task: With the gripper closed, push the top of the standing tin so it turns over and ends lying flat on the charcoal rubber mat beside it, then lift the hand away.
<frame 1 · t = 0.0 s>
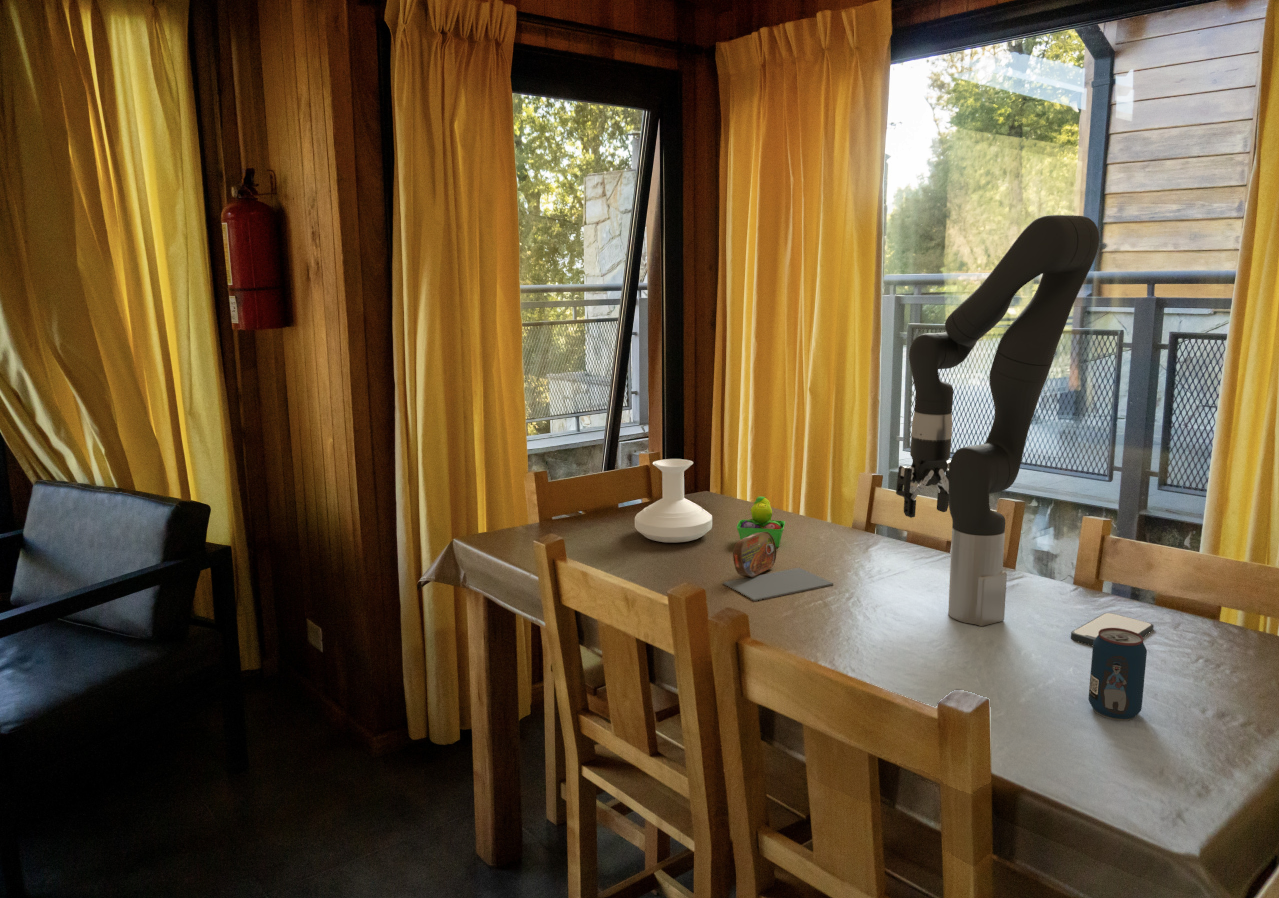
hand: (926, 513, 175), 17 cm above the table, tool pointing down, fingers open, 8 cm apart
soda can: (1113, 712, 130), on the table
white vase: (673, 537, 224), on the table
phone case: (1112, 636, 158), on the table
fruit basket: (761, 544, 216), on the table
mat: (777, 584, 187), on the table
tin: (756, 573, 194), on the table, touching mat
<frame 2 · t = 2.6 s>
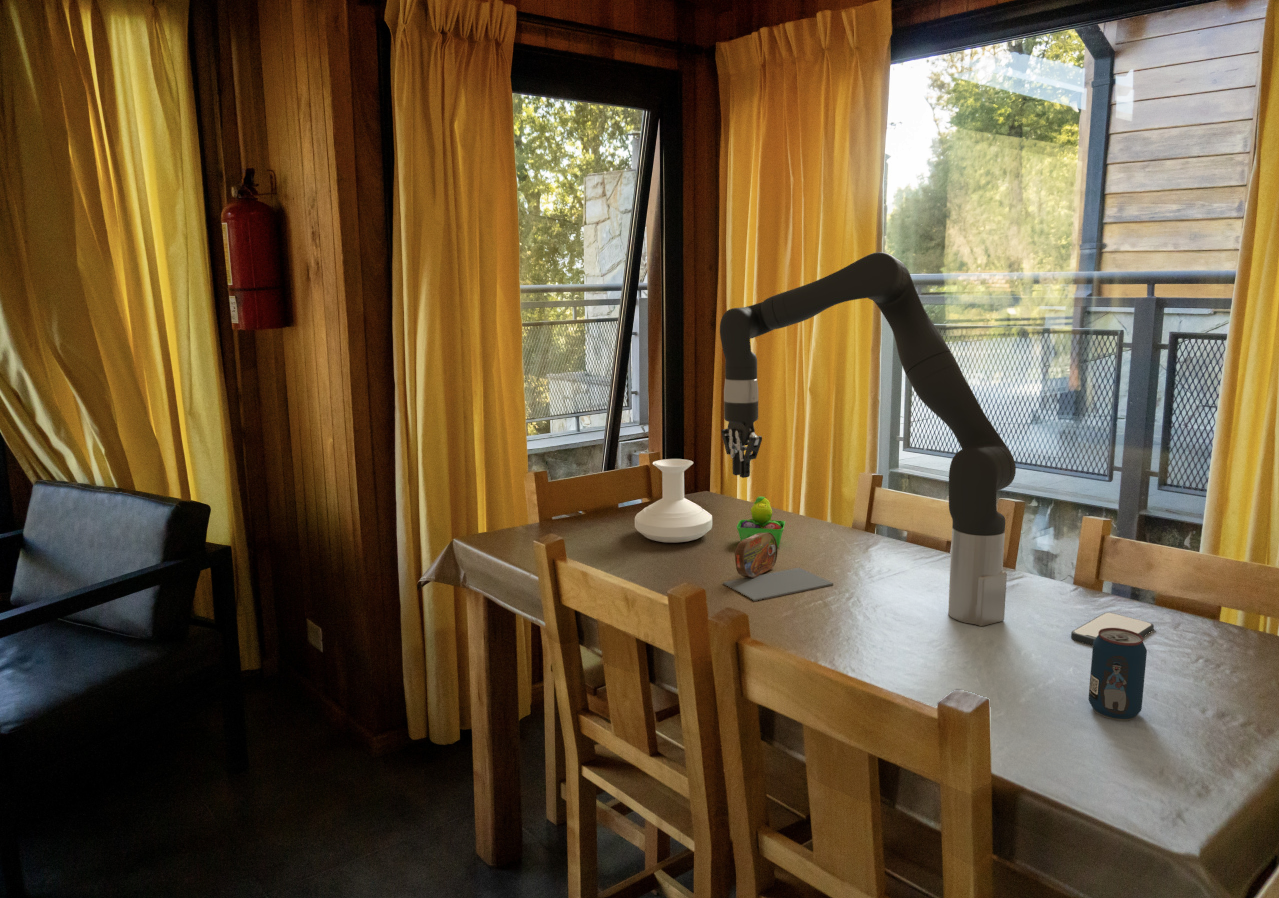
hand: (741, 475, 195), 21 cm above the table, tool pointing down, fingers closed
nothing on the table moved.
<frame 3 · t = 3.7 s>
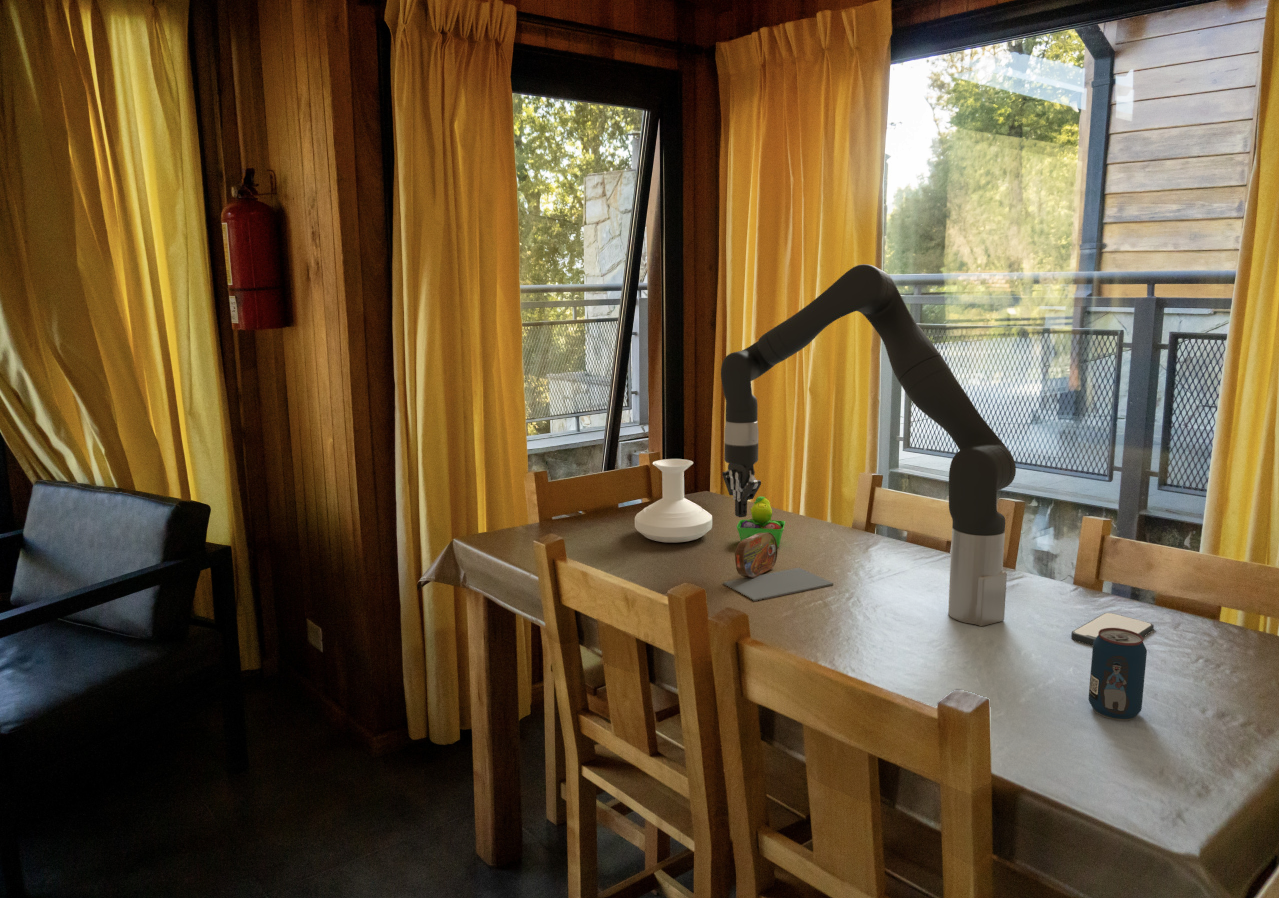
hand: (740, 516, 197), 12 cm above the table, tool pointing down, fingers closed
nothing on the table moved.
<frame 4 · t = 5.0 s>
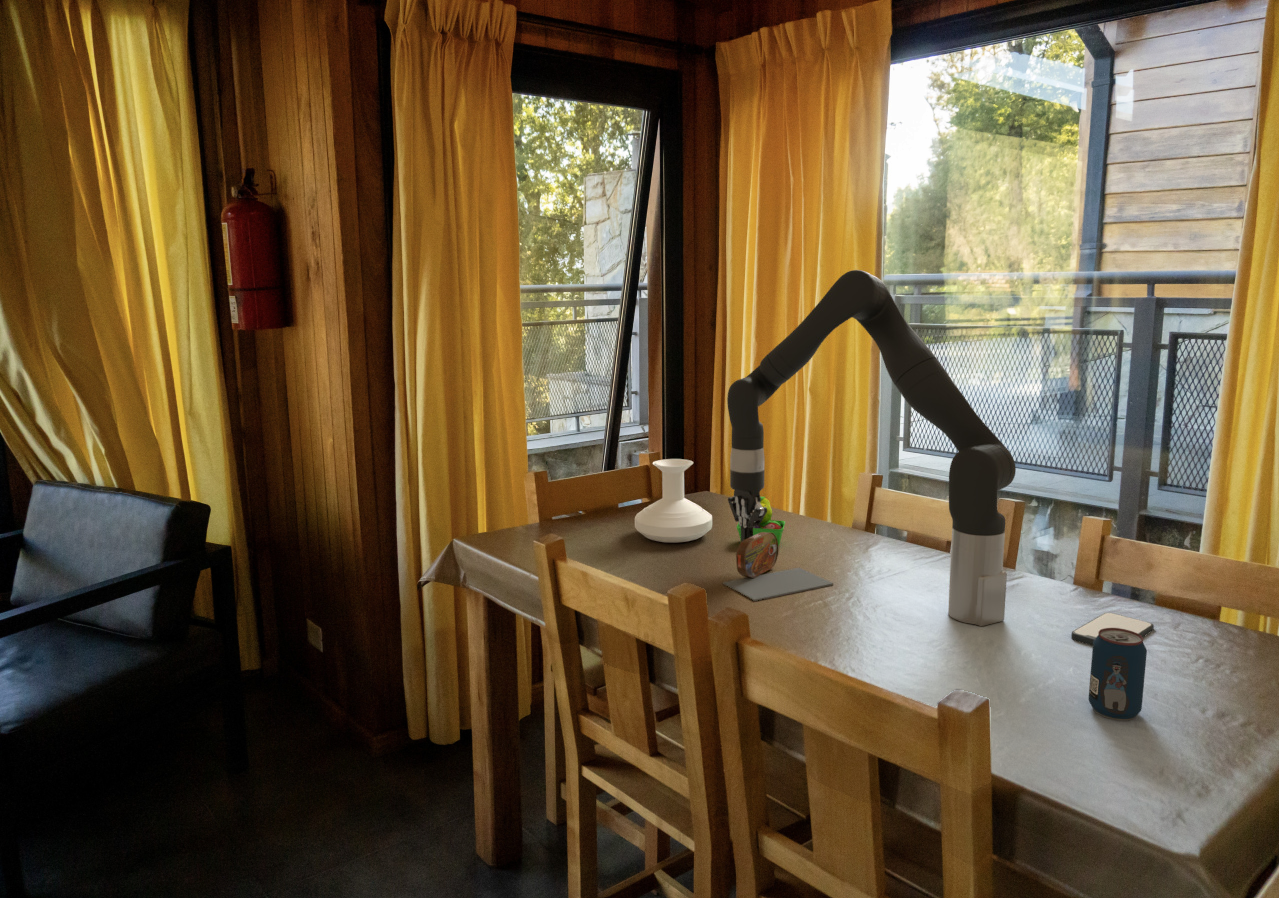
hand: (746, 542, 196), 6 cm above the table, tool pointing down, fingers closed
tin: (756, 573, 194), on the table, touching gripper, mat
everything else where it was.
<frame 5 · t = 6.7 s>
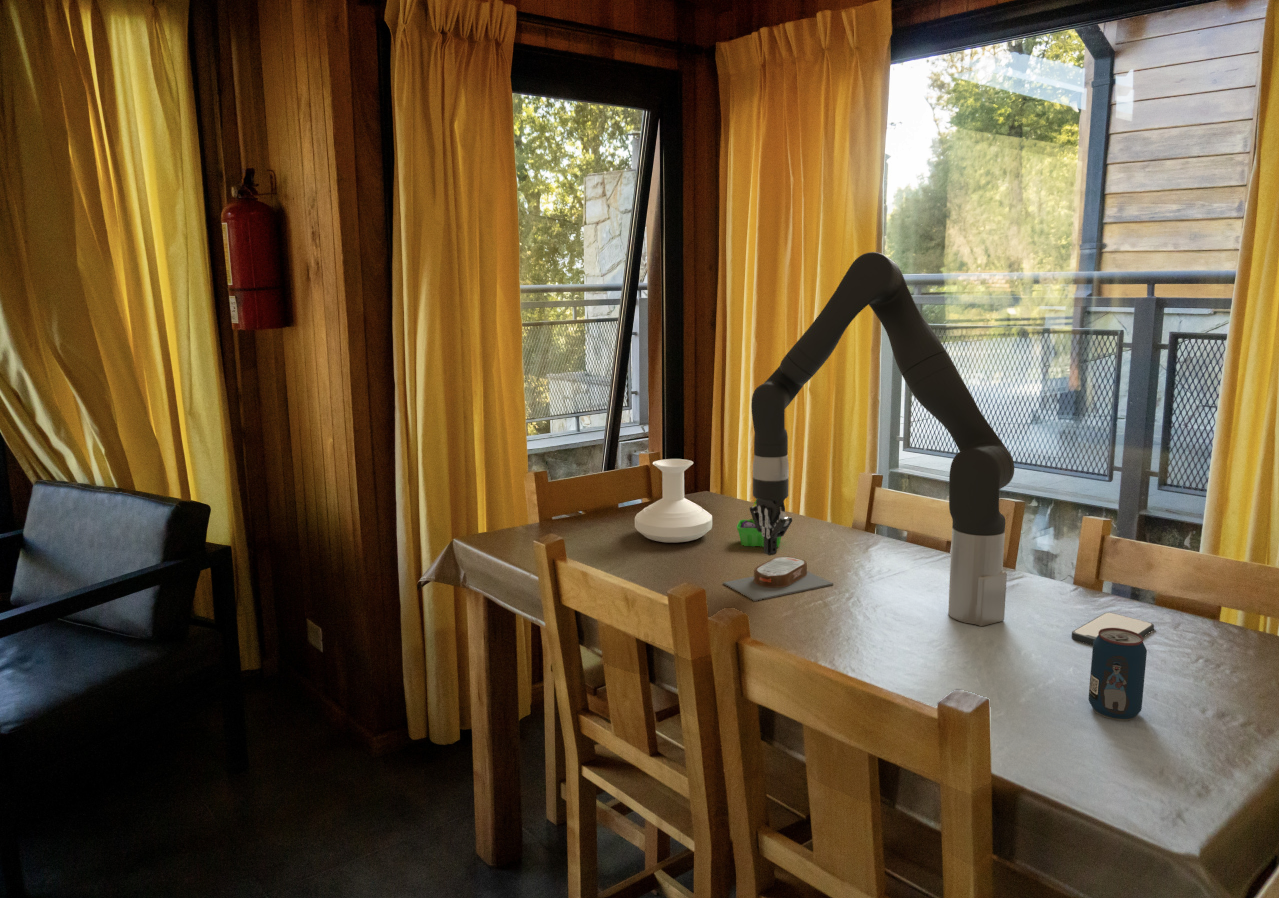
hand: (770, 553, 188), 6 cm above the table, tool pointing down, fingers closed
tin: (763, 566, 192), point 2 cm above the table, touching mat
everything else where it was.
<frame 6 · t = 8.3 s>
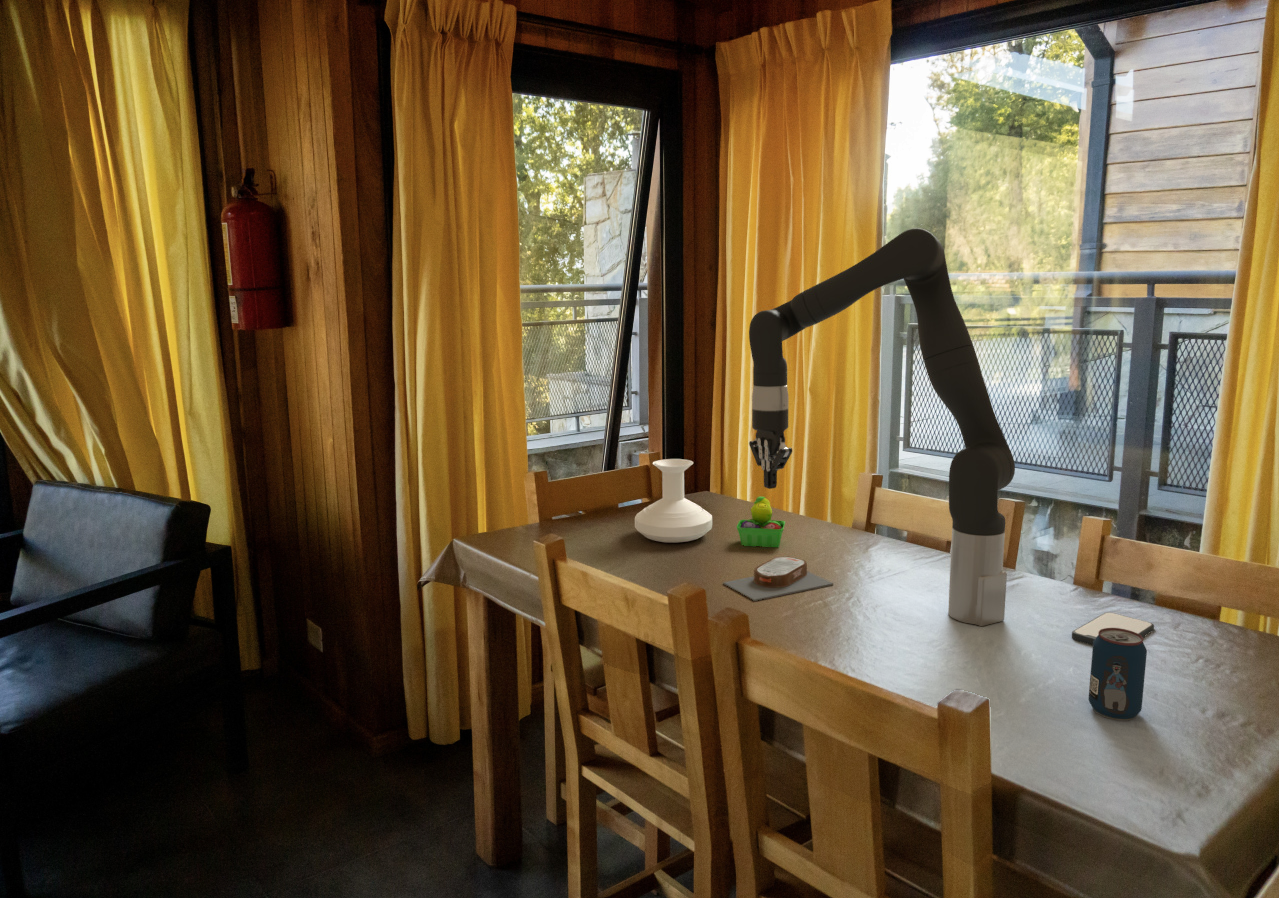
hand: (770, 487, 185), 21 cm above the table, tool pointing down, fingers closed
nothing on the table moved.
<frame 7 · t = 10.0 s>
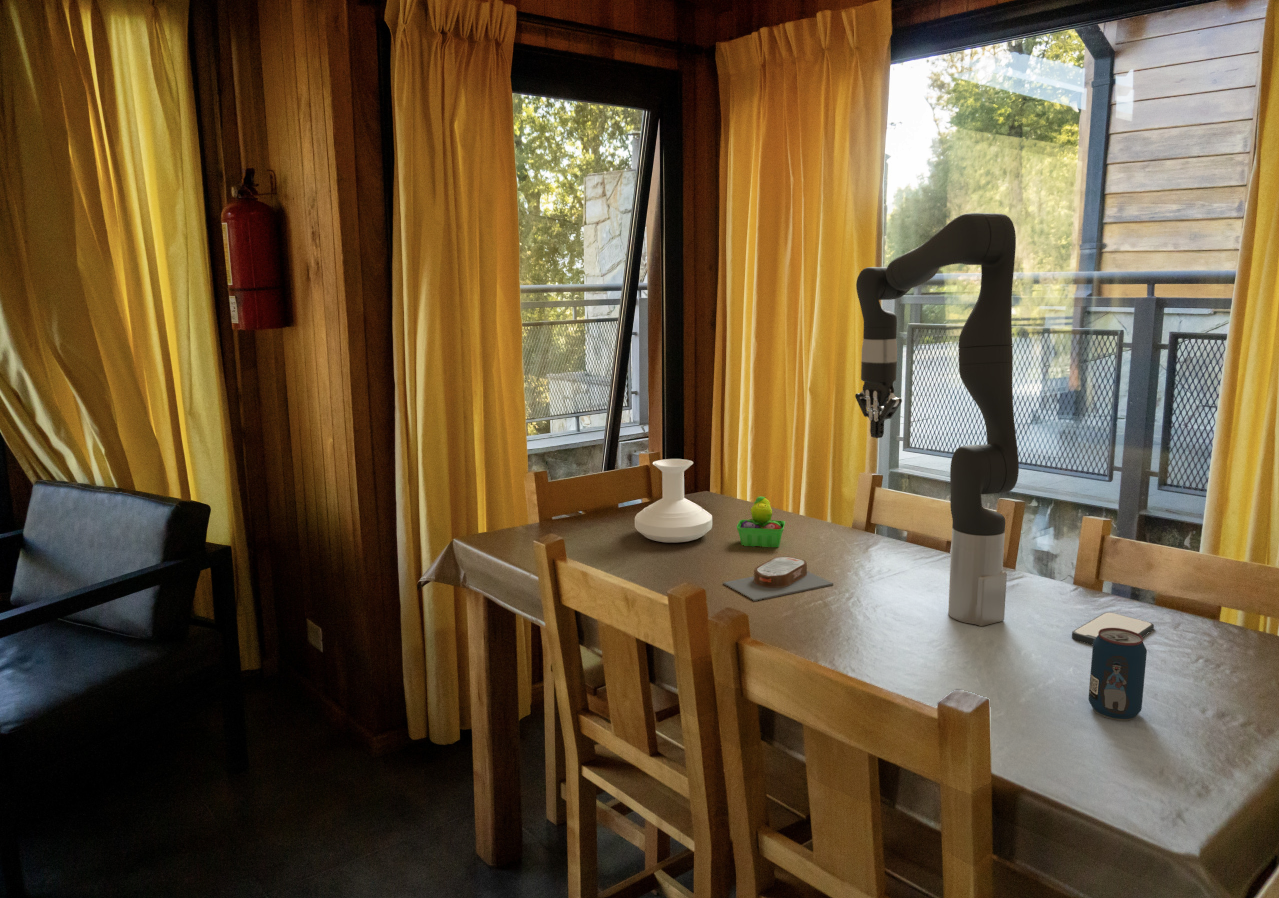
hand: (876, 437, 195), 29 cm above the table, tool pointing down, fingers closed
nothing on the table moved.
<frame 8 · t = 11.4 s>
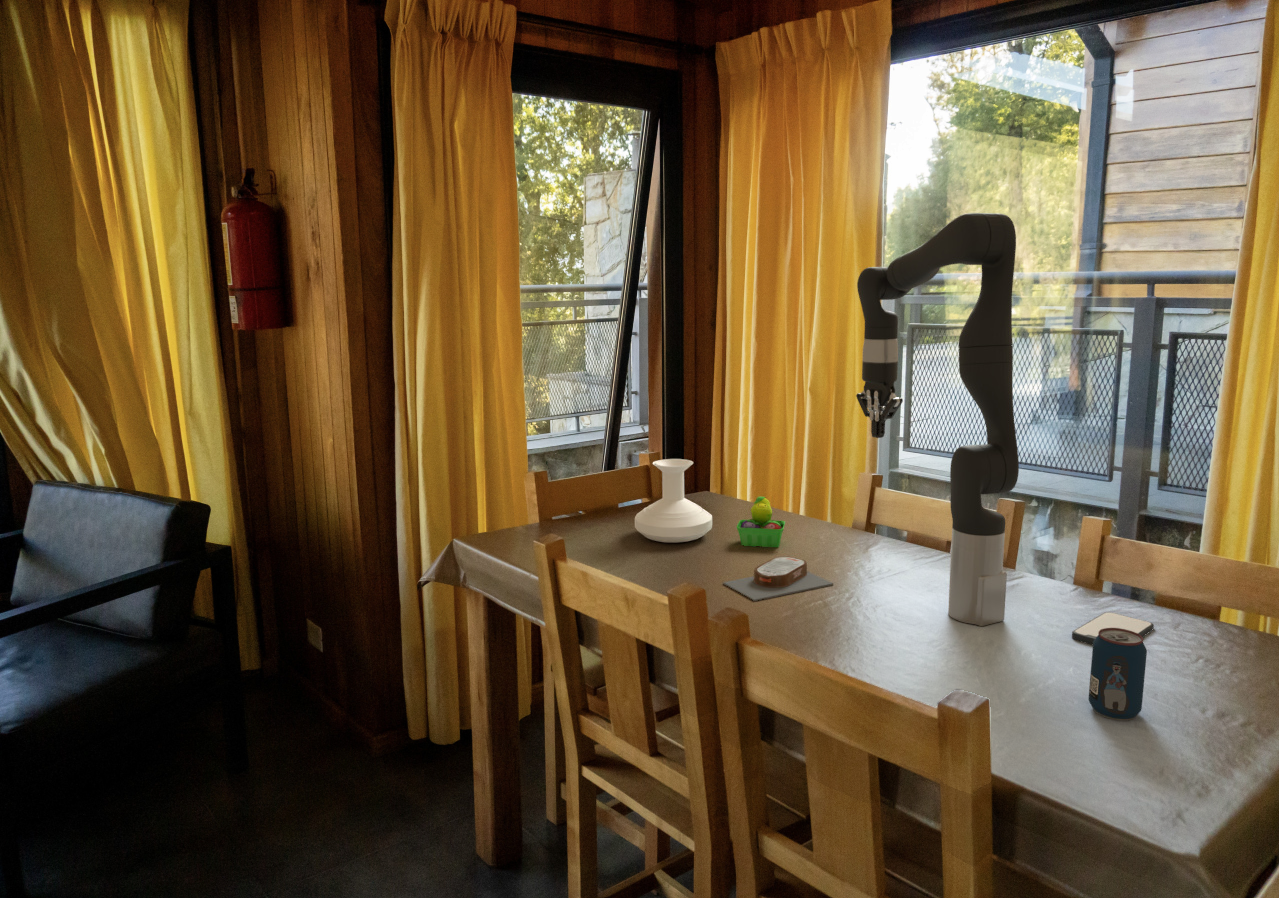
hand: (877, 437, 195), 29 cm above the table, tool pointing down, fingers closed
nothing on the table moved.
at the end: tin tilted 94°; tin touching mat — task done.
